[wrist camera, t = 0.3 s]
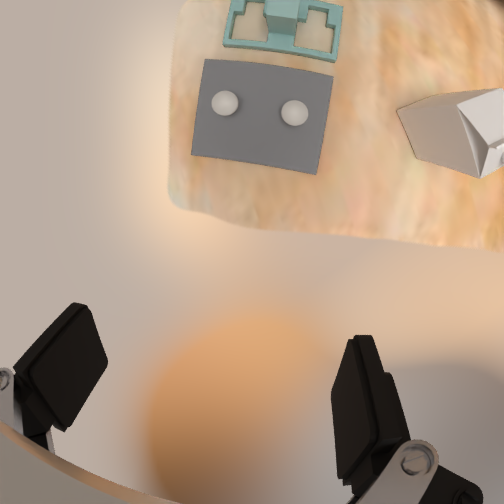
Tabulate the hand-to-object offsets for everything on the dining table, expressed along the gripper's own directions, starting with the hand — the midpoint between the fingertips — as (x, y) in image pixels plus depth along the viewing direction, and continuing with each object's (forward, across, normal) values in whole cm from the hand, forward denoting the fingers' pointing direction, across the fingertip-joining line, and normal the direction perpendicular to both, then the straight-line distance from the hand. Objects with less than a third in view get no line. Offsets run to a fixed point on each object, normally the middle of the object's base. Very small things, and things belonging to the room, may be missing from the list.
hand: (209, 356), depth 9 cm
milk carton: (+30, -22, -11) cm, 39 cm away
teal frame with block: (+30, -2, -22) cm, 37 cm away
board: (+30, +1, -10) cm, 31 cm away
